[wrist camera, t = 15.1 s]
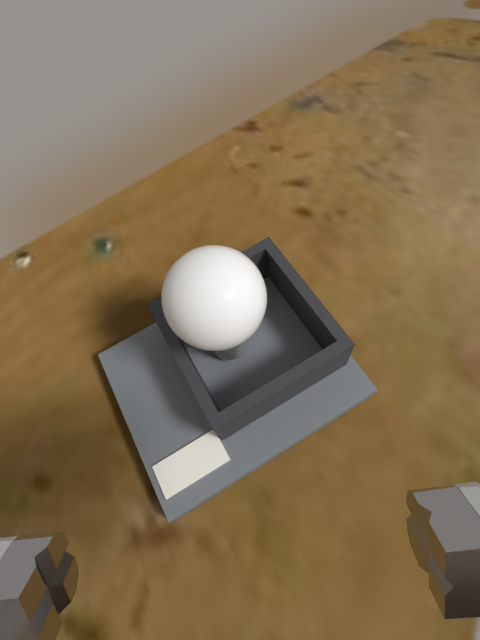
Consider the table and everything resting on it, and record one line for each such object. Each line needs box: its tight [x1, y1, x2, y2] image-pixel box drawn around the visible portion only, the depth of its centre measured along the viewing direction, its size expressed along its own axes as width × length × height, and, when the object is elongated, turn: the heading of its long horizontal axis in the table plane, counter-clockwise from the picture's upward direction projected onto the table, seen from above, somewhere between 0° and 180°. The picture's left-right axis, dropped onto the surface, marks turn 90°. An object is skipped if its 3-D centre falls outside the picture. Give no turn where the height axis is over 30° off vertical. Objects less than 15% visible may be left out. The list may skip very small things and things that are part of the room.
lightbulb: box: [161, 245, 267, 360], centre depth 25 cm, size 6×6×11 cm
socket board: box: [98, 237, 378, 523], centre depth 28 cm, size 17×14×6 cm
